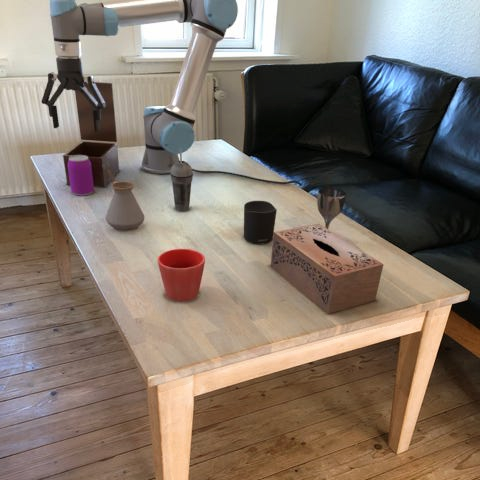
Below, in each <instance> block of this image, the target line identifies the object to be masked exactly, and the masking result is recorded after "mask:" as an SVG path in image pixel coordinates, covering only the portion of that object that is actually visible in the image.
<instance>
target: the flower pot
mask: <svg viewBox="0 0 480 480" xmlns="http://www.w3.org/2000/svg"><path fill="white" fill-rule="evenodd" d="M205 262H206V257H205V255H204V254H203V253H201V252H200V251H198V250H195V249H191V248H174V249H170V250H169V249H168V250H166V251H164V252H162V253H160V254H159V256H158V257H157V265H158V268H159V272H160V276H161V280H162V284H163V289H164V292H165V295H166V297H167V298H168V299H169V300H171V301H173V302H179V303H185V302H190V301H193V300H195V299H196V298H198V295H199V292H200V288H201V284H202V279H203V274H204V269H205V264H206V263H205Z"/></svg>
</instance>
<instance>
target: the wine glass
mask: <svg viewBox="0 0 480 480" xmlns="http://www.w3.org/2000/svg"><path fill="white" fill-rule="evenodd" d="M346 199H347V192H346V191H345V190H344V189H341V188H338V187H330V186H329V187H321V188H319V189H318V191H317V198H316V204H317V210H318V213H319V214H320V216H321V217H322V218H323V220H324V227H325V228H327V229H328V230H329V227H330V225H331V223H332V221H333V220H335V219H336V218H337V217H338V216H339V215H340V214H341V213H342V211H343V210H344V209H343V208H344V206H345V203H346Z"/></svg>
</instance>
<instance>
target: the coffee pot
mask: <svg viewBox="0 0 480 480" xmlns="http://www.w3.org/2000/svg"><path fill="white" fill-rule="evenodd" d="M104 165H105V167H106V168H103V165H102V168H103V169H106V170H107V171H108V175H109V176H110V178H111V181H112V184H111V185H110V186H111V189H112V190H113V194H112V198H111V200H110V204H109V206H108V209H107V213H106V215H105V221H106V223H107V224H108V225H109V226H110V227H111V228H113V229H114V230H115V231H118V232H133V231H136V230H137V229H138V228H139V227H140V226H142V224H143V223H144V221H145V215H144V212H143V210H142V208H141V206H140V204H139V202H138V201H137V199H136V197H135V195H134V192H133V189H134V187H135V183H133V182H130V181H116V178H115V176H113V173H112V172H111V171H110V168H109V167H108V165H109V164H106V163H105V164H104Z"/></svg>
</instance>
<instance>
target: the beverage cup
mask: <svg viewBox="0 0 480 480" xmlns="http://www.w3.org/2000/svg"><path fill="white" fill-rule="evenodd" d="M182 154H183V153H182V151H181V148H180V154H179V160H180V161H178V162H176V163H175V164H174V165H173V166H172V168H171V173H170V174H169V175H170V180H171V183H172V193H173V199H174V200H173V201H174V202H173V203H174V207H175V208H174V209H175V211H178V212H187V211H189V210H190V205H191V193H192V192H191V191H192V181H193V176H194V171H192V169H193V168H192V166H191V164H190V163H189V162H187V161H185V160H183V155H182Z"/></svg>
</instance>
